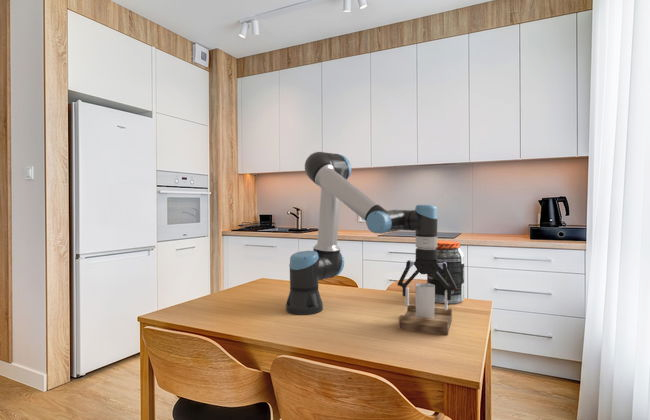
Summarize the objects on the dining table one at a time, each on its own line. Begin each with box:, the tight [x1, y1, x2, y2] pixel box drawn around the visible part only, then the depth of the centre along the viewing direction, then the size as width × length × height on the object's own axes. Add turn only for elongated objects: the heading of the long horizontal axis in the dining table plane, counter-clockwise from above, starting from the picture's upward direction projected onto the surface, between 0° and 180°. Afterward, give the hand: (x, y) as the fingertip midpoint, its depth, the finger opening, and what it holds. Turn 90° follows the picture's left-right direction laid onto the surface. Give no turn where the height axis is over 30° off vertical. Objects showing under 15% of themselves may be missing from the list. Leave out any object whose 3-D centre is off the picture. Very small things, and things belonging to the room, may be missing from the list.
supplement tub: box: [426, 240, 465, 304], centre depth 169 cm, size 16×16×26 cm
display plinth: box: [398, 303, 453, 336], centre depth 136 cm, size 16×17×4 cm
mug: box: [414, 282, 436, 319], centre depth 136 cm, size 10×7×12 cm, turn 141°
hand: (426, 307), depth 136 cm, fingers open, 13 cm apart
